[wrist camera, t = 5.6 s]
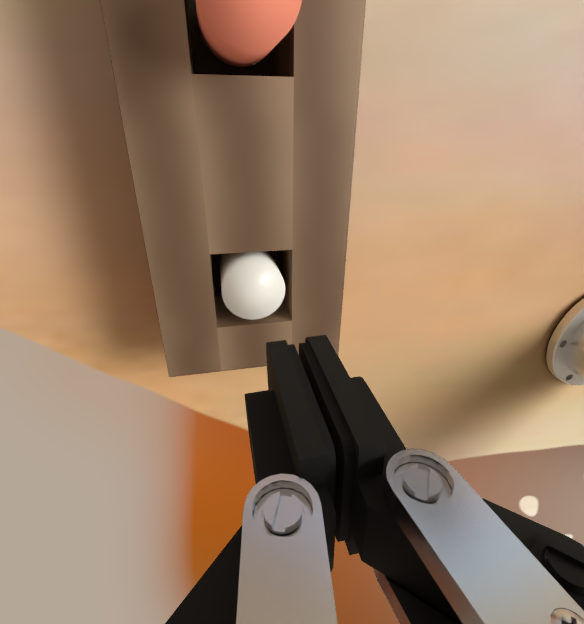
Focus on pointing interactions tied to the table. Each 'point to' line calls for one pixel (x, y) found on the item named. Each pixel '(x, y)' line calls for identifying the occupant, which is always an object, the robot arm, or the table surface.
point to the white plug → (251, 284)
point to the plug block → (239, 174)
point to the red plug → (245, 27)
